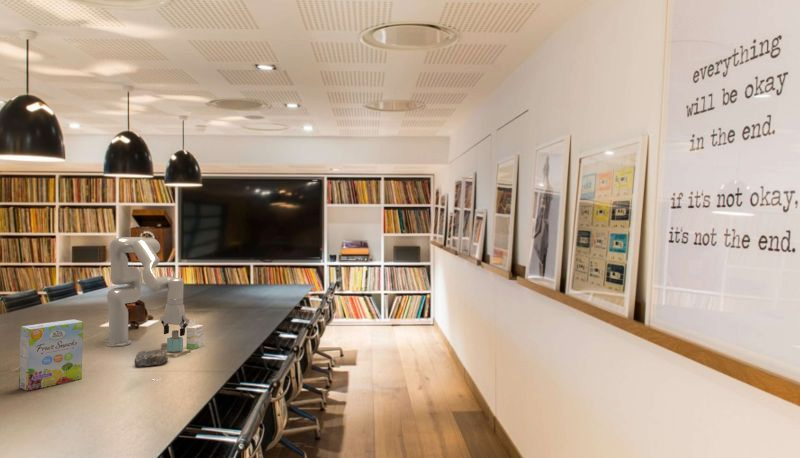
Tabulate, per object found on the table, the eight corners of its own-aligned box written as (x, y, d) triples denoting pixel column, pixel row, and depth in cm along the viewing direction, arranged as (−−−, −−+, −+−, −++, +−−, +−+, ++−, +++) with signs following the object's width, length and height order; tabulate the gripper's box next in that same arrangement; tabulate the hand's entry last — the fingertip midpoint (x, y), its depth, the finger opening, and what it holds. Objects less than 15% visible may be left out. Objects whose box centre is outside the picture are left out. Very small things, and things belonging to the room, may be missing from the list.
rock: (134, 369, 251) (169, 366, 258) (134, 355, 251) (169, 353, 258) (134, 361, 263) (167, 359, 269) (134, 348, 262) (168, 346, 269)
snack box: (28, 392, 216) (28, 328, 215) (18, 388, 220) (18, 326, 220) (83, 379, 234) (84, 320, 234) (73, 375, 239) (73, 318, 238)
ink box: (194, 349, 289) (194, 322, 288) (186, 348, 290) (186, 321, 289) (203, 345, 297) (203, 319, 297) (195, 345, 298) (195, 318, 298)
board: (149, 354, 276) (149, 331, 276) (164, 349, 288) (165, 327, 288) (175, 357, 272) (175, 333, 272) (190, 351, 284) (190, 329, 283)
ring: (164, 350, 277) (164, 339, 276) (173, 347, 284) (173, 336, 284) (176, 352, 275) (176, 340, 274) (185, 348, 282) (185, 337, 282)
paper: (127, 377, 239) (127, 375, 239) (168, 374, 246) (168, 371, 246) (122, 395, 216) (122, 392, 216) (169, 390, 223) (169, 388, 223)
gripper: (156, 301, 277) (155, 334, 278) (184, 304, 273) (183, 338, 273) (166, 299, 285) (165, 331, 285) (194, 302, 280) (193, 334, 281)
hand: (174, 334), depth 279 cm, fingers open, 9 cm apart
